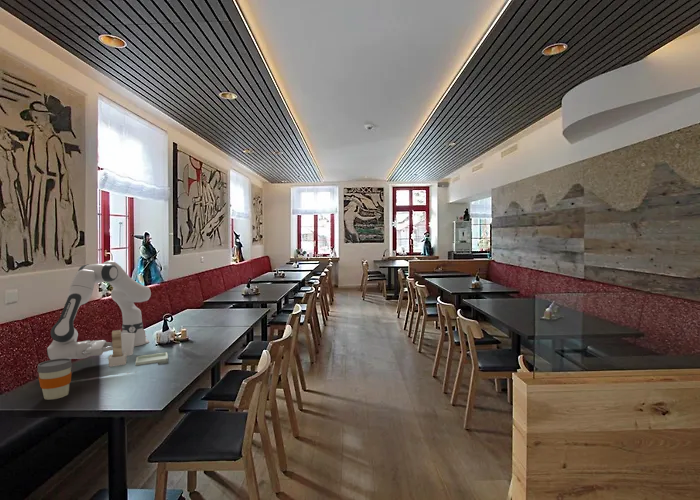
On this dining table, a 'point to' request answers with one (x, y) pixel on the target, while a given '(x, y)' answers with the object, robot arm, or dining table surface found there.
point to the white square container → (117, 360)
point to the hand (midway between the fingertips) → (114, 346)
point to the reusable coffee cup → (55, 377)
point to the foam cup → (127, 343)
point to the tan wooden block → (116, 343)
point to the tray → (152, 359)
